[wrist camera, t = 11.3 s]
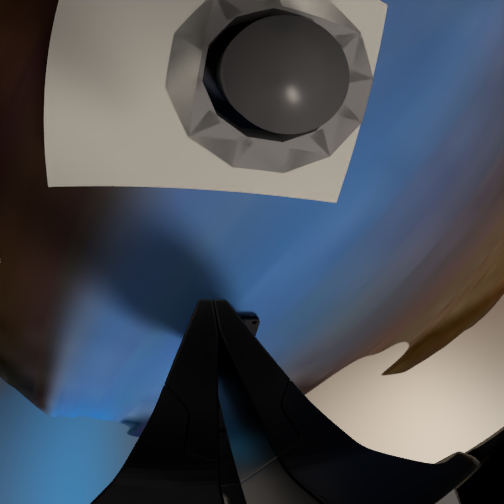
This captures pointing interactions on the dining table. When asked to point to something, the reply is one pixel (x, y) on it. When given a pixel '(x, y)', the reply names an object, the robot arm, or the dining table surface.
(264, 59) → the cap
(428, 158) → the dining table surface
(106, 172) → the board
